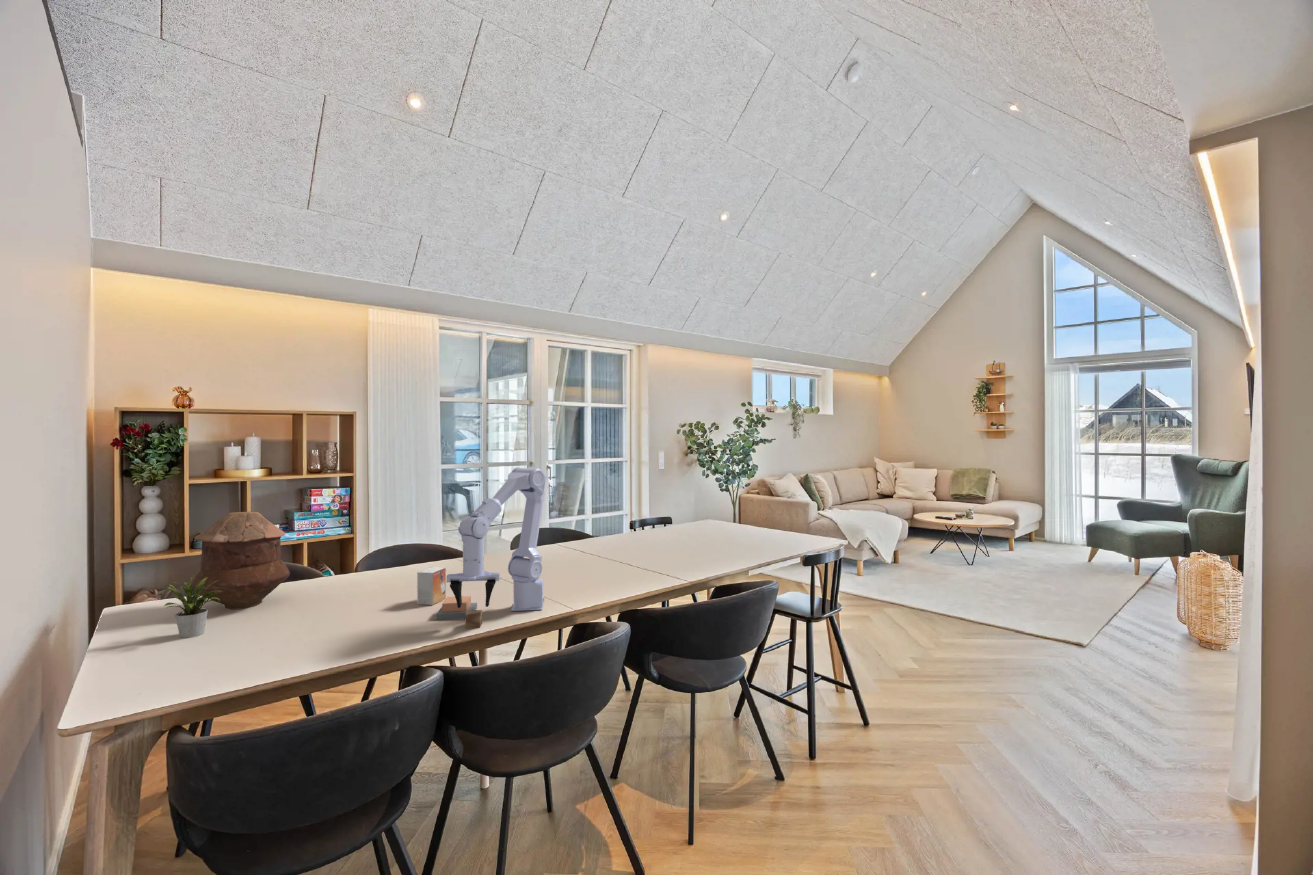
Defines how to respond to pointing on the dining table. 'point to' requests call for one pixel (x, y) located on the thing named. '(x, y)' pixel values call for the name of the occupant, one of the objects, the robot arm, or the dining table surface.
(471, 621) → the walnut cube
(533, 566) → the robot arm
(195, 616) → the house plant
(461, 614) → the slate tile
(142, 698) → the dining table surface
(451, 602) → the terracotta tile
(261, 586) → the pottery vessel
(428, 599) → the small box
